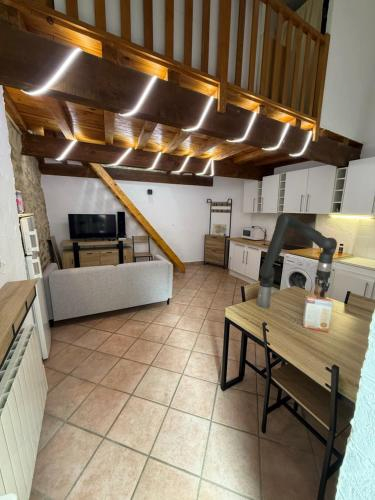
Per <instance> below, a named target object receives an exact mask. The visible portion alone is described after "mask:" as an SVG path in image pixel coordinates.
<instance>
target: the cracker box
mask: <svg viewBox="0 0 375 500" xmlns="http://www.w3.org/2000/svg"><path fill="white" fill-rule="evenodd" d="M304 302H305V303H304V307H303V308H304V310H303V317H302V326H303V328H305V329H308V330H313V331H314V330H315V331H320V332H325V333H329V330H330V329H329V327H330V322H331V316H332V311H333V309H332V308H333V305H334V304H333V303H334V302H333V301H332V299H331V298H327V297H326V298H318V297H316V296H315V295H313V296H312V295H306V296H305V301H304Z"/></svg>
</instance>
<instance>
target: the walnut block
mask: <svg viewBox="0 0 375 500" xmlns="http://www.w3.org/2000/svg"><path fill="white" fill-rule="evenodd" d="M320 292H321V287H320V285H317V284H315V283H314V290H313V296H314V297H318V298H327V293H328V291H327V292H326V291H325V294H324V297H321V296H320Z"/></svg>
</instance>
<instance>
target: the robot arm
mask: <svg viewBox="0 0 375 500" xmlns="http://www.w3.org/2000/svg"><path fill="white" fill-rule="evenodd" d="M287 227H289V228H291V229H294V230H296V231H297V232H299V233H300V234H301V235H302V236H303V237H305V239H308V240H310V241H311V242H313V243H314V244H315V245H316V246H318V247H319V248H320V249H322V251H321V252H320V253H319V255H318V256H319V257H318V262H317V266H316V272H315V277H314V285H315V284H317V285H320V287H321V292H320V296H321V297H324V294H325V291H326V292H327V293H328V290H329V287H330V285H331V284H330V282H328V279H329V278H331V274H332V269H333V268H332V267H333V266H332V265H333V259H334V255H335V252H336V250H337V246H338V242H337V240H336V238H334V237H326V236H324V235H323V234H322V232H321V231H318V230H317V229H315V228H313V227H311V226H309V225H307V224H305V223H304V222H302V221H301V220H299V219H298V218H297V217H296V216H294V215H293V214H291V213H286V212H284V213H280V214H279V215H278V217H277V219H276V221H275V226H274V231H273V233H272V236H271V239H270V242H269V245H268V248H267V250H266V255H265V257H264V260H263V262H262V265H260V266H261V267H260V268H259V272H258V273H259V276H260V280H259V286H258V292H257V301H256V305H257V306H258V307H260V308H261V309H262V308H263V309H268V308H270V306H271V298H272V297H271V296H272V290H273V289H272V288H273V283H274V281H275V274H276V273H275V268H274V267H273V266H274V264H275V262H276V260H277V259H278V258H279V256H280V254H281V252H282V250H283V247H284V235H285V230H286V229H287Z"/></svg>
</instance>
